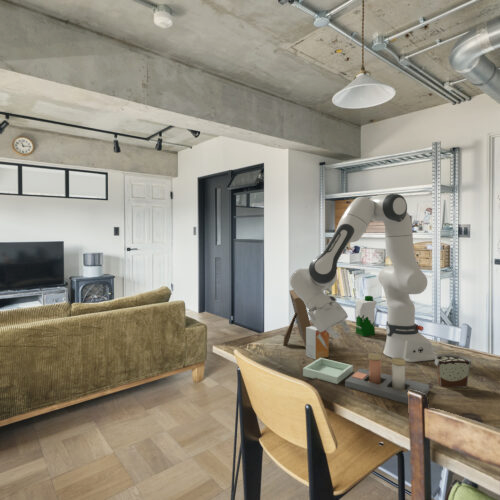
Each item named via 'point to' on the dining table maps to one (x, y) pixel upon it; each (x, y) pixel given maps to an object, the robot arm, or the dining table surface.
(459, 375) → the food container
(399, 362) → the cylinder
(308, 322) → the photo frame
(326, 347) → the small box
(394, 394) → the block
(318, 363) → the tray
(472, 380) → the dining table surface
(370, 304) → the milk carton
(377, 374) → the marked fuse
